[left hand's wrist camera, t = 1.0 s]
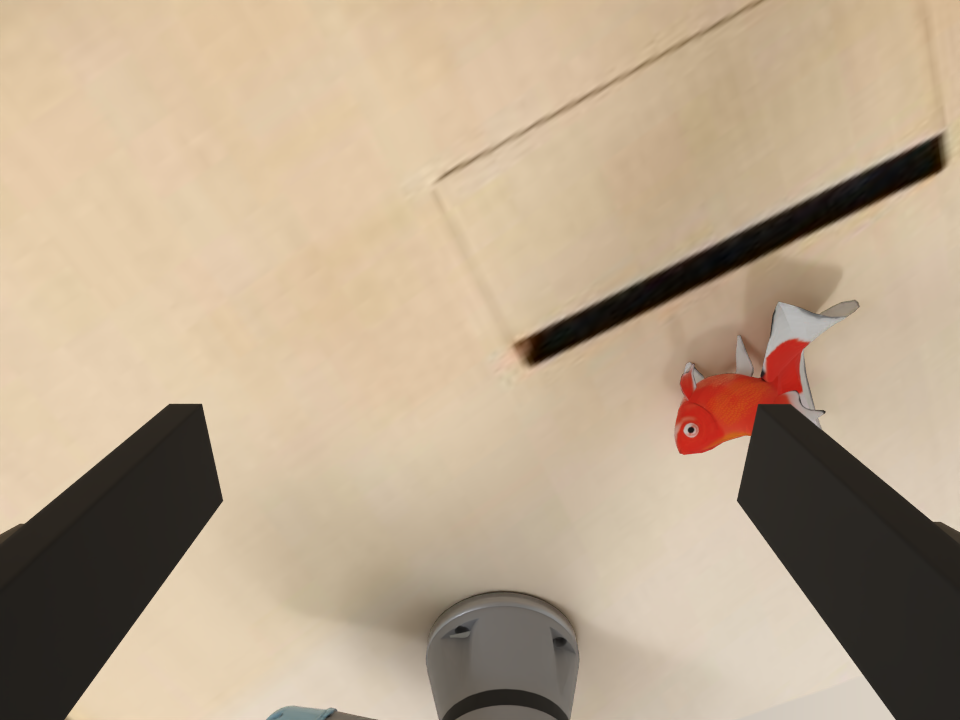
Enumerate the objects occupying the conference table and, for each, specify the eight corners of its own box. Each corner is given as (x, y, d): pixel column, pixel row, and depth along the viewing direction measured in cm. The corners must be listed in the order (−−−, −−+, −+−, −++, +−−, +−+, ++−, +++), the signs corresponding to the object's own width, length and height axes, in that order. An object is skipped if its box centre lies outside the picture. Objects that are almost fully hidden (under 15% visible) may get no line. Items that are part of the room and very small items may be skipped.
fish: (625, 336, 36) (753, 418, 29) (783, 235, 40) (931, 285, 33) (633, 435, 43) (738, 521, 36) (767, 341, 47) (886, 401, 40)
